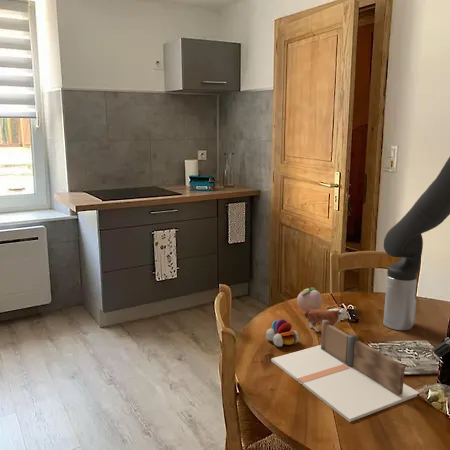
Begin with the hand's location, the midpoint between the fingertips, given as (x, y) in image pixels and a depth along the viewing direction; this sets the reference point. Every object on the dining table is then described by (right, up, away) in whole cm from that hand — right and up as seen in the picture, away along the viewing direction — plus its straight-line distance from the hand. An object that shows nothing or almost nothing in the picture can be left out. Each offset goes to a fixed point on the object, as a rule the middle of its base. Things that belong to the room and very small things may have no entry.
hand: (435, 353), depth 119 cm
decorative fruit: (-22, 0, +52) cm, 56 cm away
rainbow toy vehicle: (-35, -5, +30) cm, 46 cm away
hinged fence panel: (-13, -8, +6) cm, 16 cm away
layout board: (-22, -9, +9) cm, 25 cm away
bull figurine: (-19, -3, +38) cm, 42 cm away
